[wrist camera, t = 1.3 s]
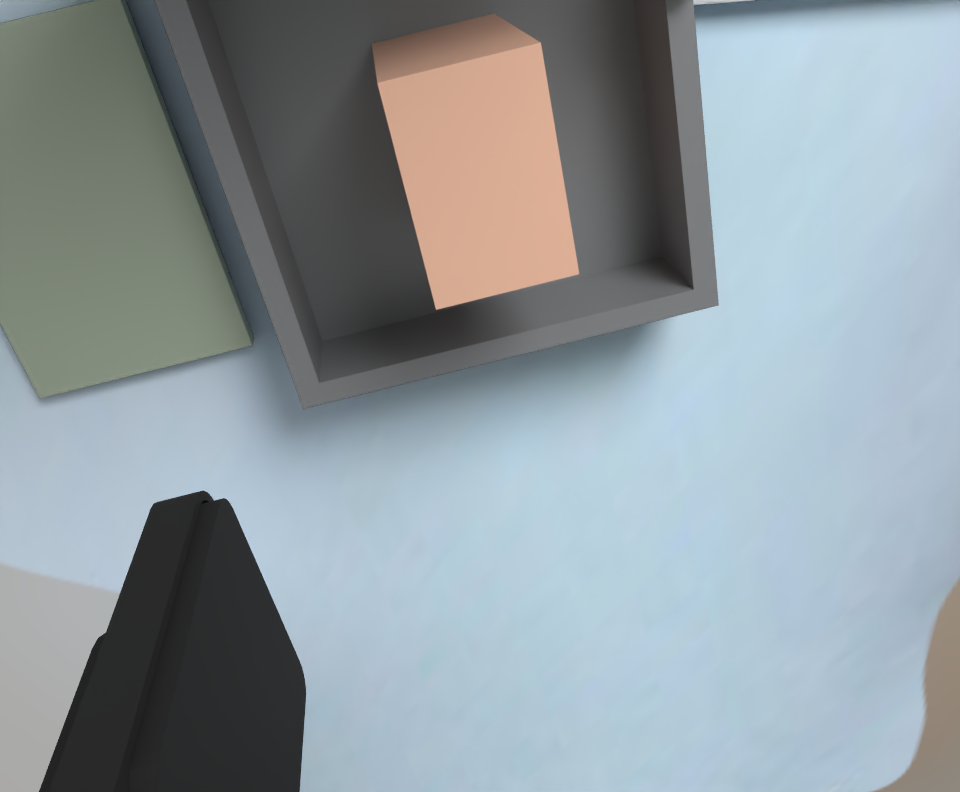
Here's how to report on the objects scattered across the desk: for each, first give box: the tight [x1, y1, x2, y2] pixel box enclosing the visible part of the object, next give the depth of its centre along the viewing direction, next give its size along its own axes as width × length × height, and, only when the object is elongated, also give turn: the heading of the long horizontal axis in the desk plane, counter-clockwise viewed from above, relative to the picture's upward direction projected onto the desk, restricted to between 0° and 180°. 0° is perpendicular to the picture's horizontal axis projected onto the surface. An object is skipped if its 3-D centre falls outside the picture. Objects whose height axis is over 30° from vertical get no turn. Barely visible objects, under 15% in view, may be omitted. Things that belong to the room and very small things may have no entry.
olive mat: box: [0, 0, 254, 398], centre depth 29 cm, size 12×8×1 cm, turn 12°
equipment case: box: [155, 0, 719, 409], centre depth 20 cm, size 22×15×17 cm
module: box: [372, 14, 579, 310], centre depth 26 cm, size 6×4×8 cm, turn 12°
